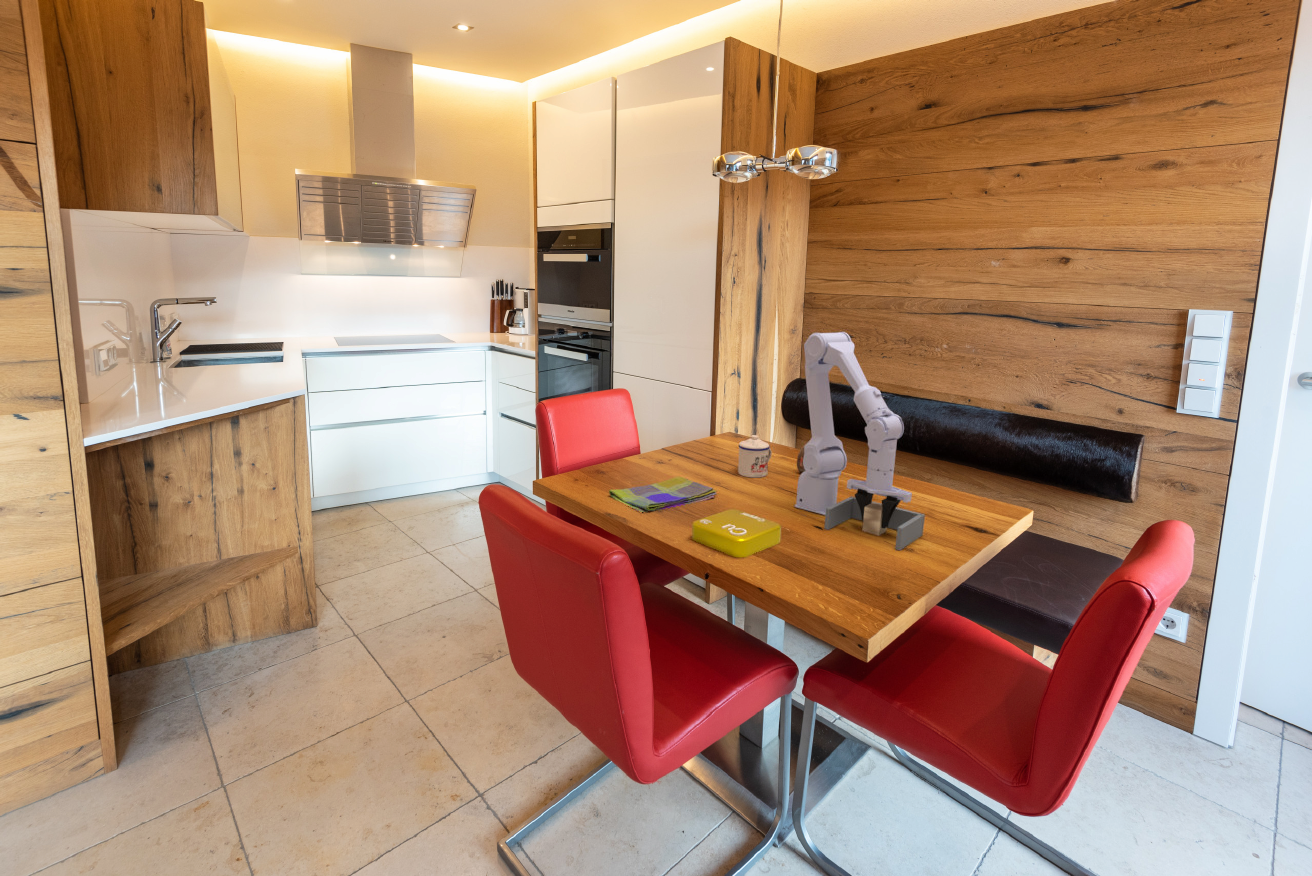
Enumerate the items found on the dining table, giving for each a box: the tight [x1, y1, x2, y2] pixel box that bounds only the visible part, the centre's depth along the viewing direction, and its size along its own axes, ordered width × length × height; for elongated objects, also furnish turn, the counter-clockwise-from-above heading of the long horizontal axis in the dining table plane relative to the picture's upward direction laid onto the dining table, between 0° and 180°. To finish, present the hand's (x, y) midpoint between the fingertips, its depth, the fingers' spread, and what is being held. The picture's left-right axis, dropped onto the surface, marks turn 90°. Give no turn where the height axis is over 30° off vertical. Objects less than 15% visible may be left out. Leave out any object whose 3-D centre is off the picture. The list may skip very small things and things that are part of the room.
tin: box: [796, 444, 828, 473], centre depth 203 cm, size 15×3×8 cm, turn 141°
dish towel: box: [608, 476, 718, 513], centre depth 176 cm, size 18×24×3 cm
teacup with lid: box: [737, 434, 773, 479], centre depth 198 cm, size 12×9×12 cm
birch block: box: [861, 502, 888, 537], centre depth 154 cm, size 4×4×6 cm
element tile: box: [691, 508, 782, 559], centre depth 148 cm, size 15×15×5 cm
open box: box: [823, 495, 926, 551], centre depth 153 cm, size 18×12×5 cm
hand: (875, 524), depth 154 cm, fingers closed on birch block, 4 cm apart
